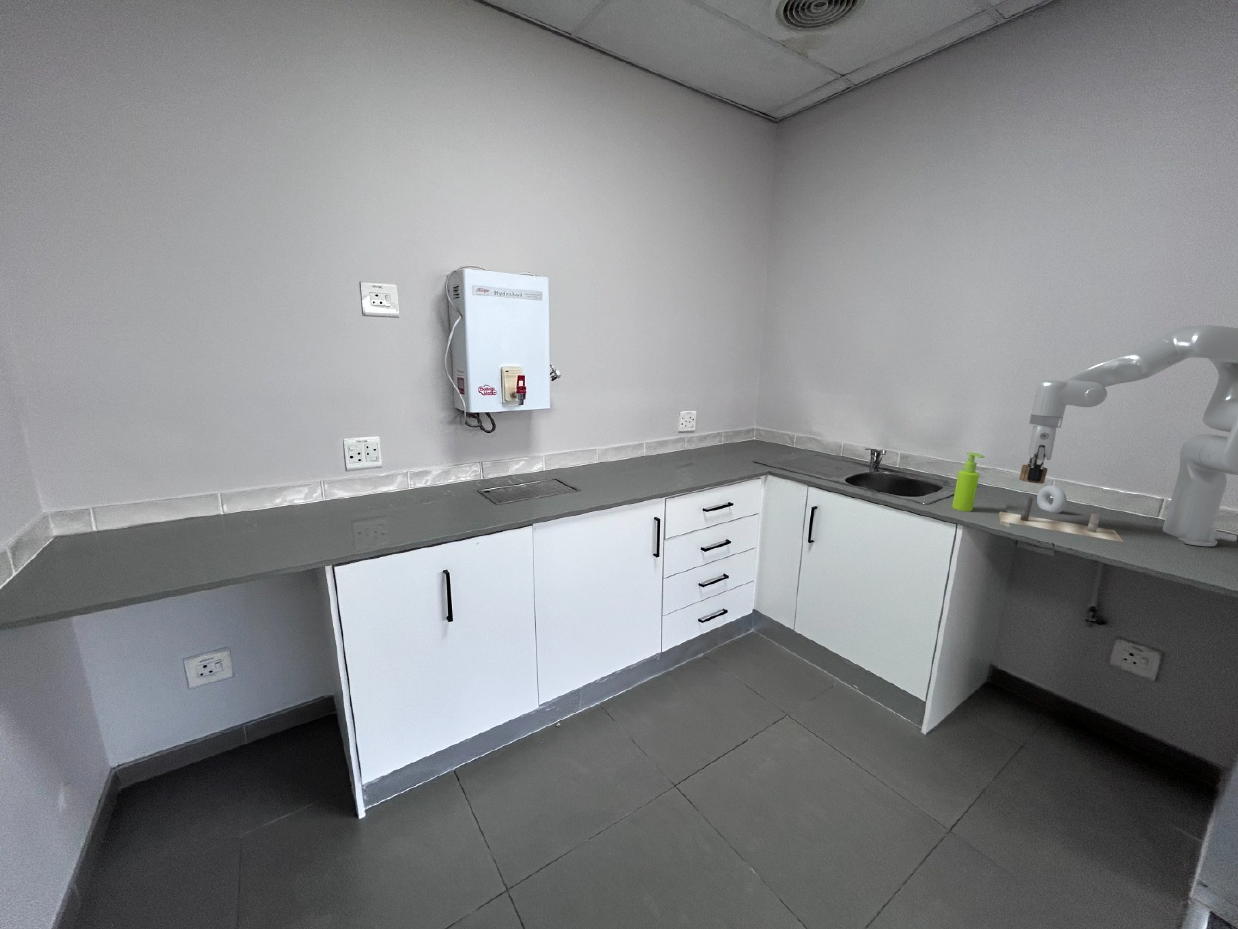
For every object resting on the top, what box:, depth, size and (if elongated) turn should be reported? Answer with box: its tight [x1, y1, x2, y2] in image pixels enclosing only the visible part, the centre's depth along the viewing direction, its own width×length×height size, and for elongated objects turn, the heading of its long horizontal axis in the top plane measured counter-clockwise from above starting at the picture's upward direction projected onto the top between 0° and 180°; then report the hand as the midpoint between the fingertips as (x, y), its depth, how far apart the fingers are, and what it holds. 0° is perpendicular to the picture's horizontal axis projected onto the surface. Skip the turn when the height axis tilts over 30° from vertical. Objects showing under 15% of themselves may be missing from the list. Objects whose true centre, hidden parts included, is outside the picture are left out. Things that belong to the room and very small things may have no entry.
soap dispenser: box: [951, 452, 985, 512], centre depth 171 cm, size 6×7×20 cm
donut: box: [1036, 484, 1067, 514], centre depth 169 cm, size 10×4×10 cm, turn 179°
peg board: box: [998, 495, 1124, 543], centre depth 153 cm, size 28×12×10 cm, turn 55°
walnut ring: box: [1018, 464, 1049, 485], centre depth 155 cm, size 6×6×4 cm
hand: (1032, 478), depth 155 cm, fingers closed on walnut ring, 6 cm apart
